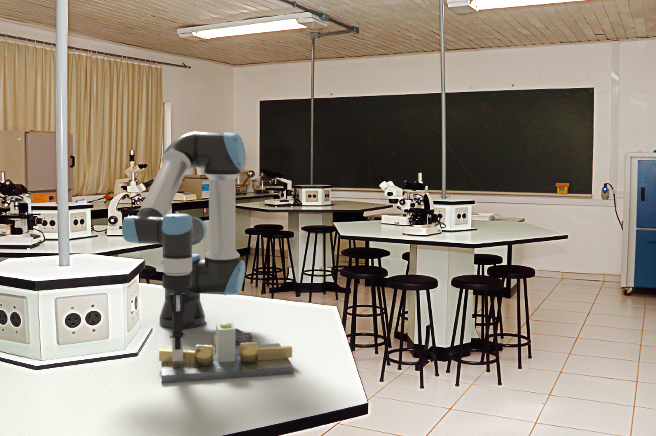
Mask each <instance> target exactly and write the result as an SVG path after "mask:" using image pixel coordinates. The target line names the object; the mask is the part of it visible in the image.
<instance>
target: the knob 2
mask: <svg viewBox="0 0 656 436" xmlns="http://www.w3.org/2000/svg"><path fill="white" fill-rule="evenodd" d="M258 345H259V344H258V342H257V341H255V342H253V341H252V342H246V343H241V344H240V353H239V360H240V361H242V362H255V361H257V360H260V359H275V358H288V359H289V358H293V346H292V345H288V346H287V345H285V346H281V347H267V348H258Z"/></svg>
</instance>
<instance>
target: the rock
mask: <svg viewBox="0 0 656 436" xmlns="http://www.w3.org/2000/svg"><path fill="white" fill-rule="evenodd" d="M215 335H216V331H214V335H213V337H214V336H215ZM246 342H253V335H252V333H251V332H244V330H241V329H239V328H236V327H235V346H240V344H241V343H246Z"/></svg>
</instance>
